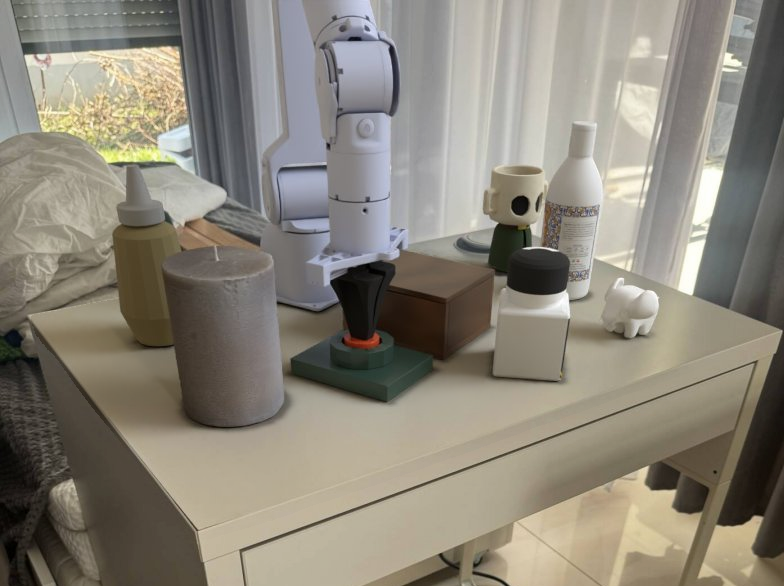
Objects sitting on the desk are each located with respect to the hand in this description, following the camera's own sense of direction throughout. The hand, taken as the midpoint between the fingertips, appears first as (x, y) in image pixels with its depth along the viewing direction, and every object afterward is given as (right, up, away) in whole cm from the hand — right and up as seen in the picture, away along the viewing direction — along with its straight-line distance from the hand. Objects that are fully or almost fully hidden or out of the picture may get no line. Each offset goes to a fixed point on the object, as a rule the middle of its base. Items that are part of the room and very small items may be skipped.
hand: (361, 337), depth 79 cm
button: (0, -1, +1) cm, 2 cm away
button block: (0, -3, +2) cm, 4 cm away
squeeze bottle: (-23, +2, +9) cm, 25 cm away
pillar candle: (-12, -8, -4) cm, 15 cm away
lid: (+6, +9, +8) cm, 13 cm away
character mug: (+19, +18, +31) cm, 40 cm away
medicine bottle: (+18, -2, +4) cm, 18 cm away
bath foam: (+25, +12, +23) cm, 36 cm away
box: (+6, +4, +12) cm, 14 cm away
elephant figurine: (+31, +3, +12) cm, 33 cm away
